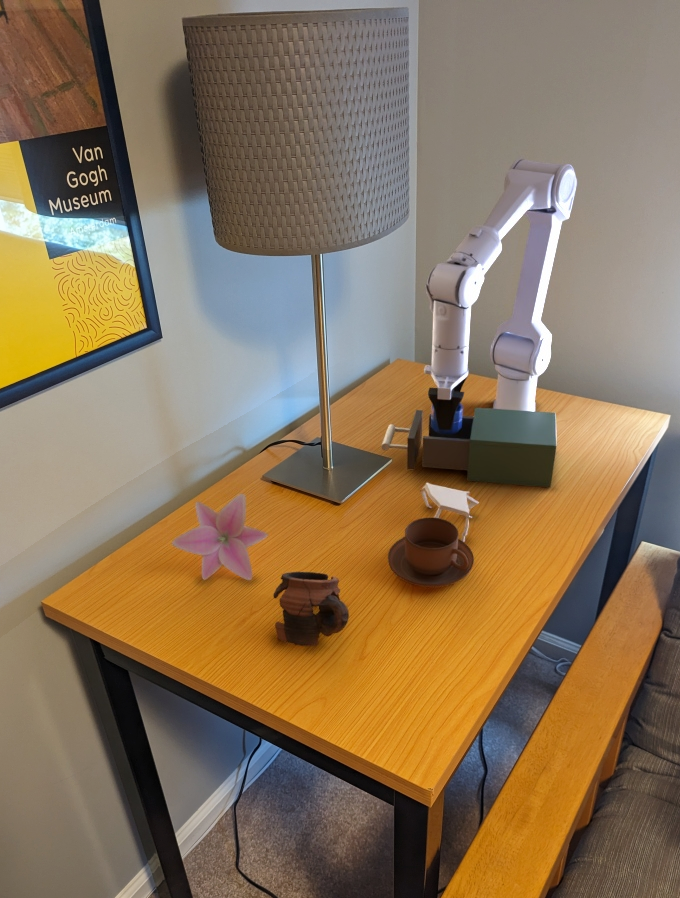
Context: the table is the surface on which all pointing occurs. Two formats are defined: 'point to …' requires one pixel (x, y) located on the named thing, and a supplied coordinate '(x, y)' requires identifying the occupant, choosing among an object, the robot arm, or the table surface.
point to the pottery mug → (309, 608)
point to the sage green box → (512, 447)
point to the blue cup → (456, 424)
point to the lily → (222, 538)
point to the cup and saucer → (431, 554)
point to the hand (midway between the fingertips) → (446, 420)
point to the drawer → (433, 444)
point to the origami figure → (449, 502)
